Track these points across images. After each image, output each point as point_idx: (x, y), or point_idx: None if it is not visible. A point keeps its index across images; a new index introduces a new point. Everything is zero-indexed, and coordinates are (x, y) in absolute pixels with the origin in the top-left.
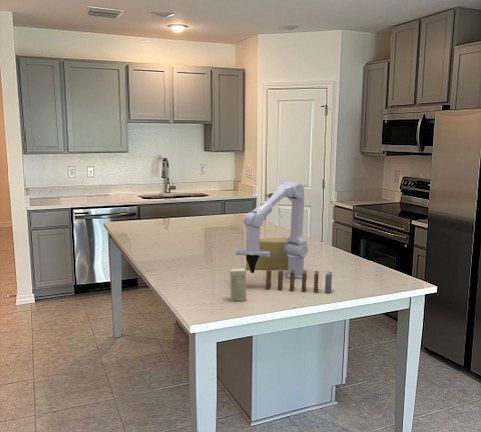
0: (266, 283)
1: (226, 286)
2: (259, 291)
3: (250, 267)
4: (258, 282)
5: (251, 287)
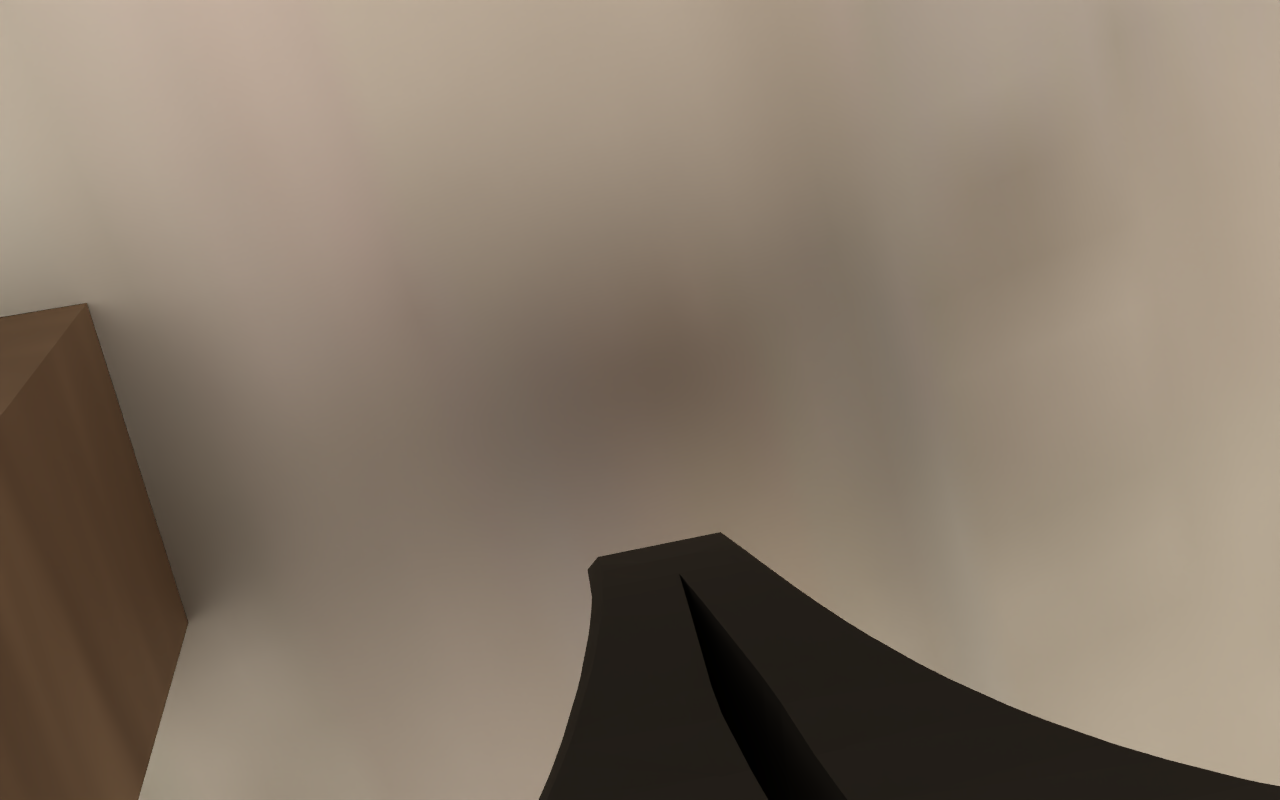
0: (12, 378)
1: (1272, 149)
2: (203, 38)
3: (801, 627)
4: (534, 784)
5: (582, 329)
